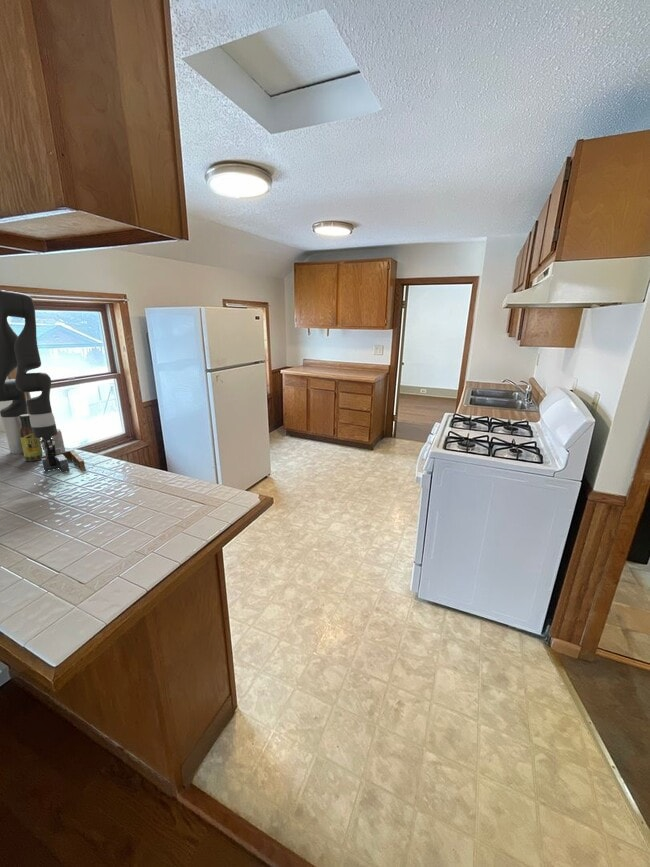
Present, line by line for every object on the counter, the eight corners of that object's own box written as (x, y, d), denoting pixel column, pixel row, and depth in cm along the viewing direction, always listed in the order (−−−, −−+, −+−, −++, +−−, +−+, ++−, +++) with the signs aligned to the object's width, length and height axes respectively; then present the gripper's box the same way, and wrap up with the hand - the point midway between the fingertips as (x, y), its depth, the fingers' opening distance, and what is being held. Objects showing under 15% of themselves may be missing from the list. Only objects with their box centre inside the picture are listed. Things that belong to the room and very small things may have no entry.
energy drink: (54, 455, 156) (48, 429, 152) (68, 454, 157) (62, 428, 154) (49, 459, 151) (43, 433, 148) (63, 457, 153) (57, 432, 149)
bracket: (65, 465, 144) (62, 454, 143) (69, 470, 139) (67, 459, 137) (44, 470, 139) (41, 458, 138) (47, 475, 134) (45, 463, 132)
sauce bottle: (32, 462, 147) (21, 417, 141) (21, 460, 148) (10, 416, 143) (47, 457, 153) (37, 414, 147) (37, 456, 154) (27, 412, 149)
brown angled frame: (43, 464, 145) (41, 455, 144) (74, 458, 152) (73, 449, 151) (52, 477, 132) (49, 467, 131) (85, 469, 140) (83, 460, 139)
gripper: (58, 425, 133) (67, 467, 138) (51, 419, 142) (60, 458, 147) (33, 429, 128) (44, 472, 133) (28, 422, 137) (38, 463, 142)
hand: (52, 464), depth 140 cm, fingers closed on bracket, 2 cm apart
